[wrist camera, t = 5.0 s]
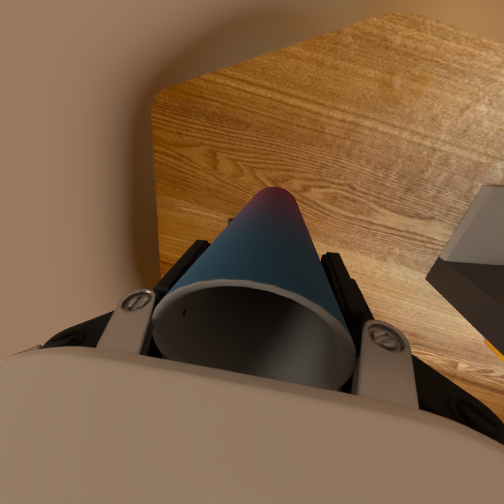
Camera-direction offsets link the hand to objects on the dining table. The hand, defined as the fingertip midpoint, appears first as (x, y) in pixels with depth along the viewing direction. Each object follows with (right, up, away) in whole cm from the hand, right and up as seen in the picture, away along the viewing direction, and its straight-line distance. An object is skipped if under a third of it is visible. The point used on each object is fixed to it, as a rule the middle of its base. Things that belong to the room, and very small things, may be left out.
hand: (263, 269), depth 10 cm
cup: (+2, +5, +9) cm, 10 cm away
